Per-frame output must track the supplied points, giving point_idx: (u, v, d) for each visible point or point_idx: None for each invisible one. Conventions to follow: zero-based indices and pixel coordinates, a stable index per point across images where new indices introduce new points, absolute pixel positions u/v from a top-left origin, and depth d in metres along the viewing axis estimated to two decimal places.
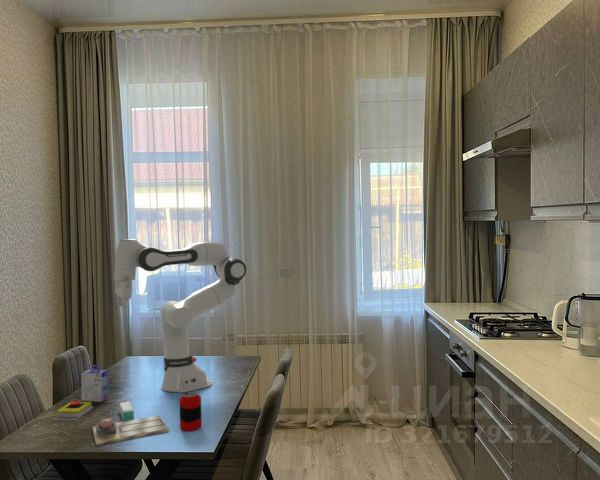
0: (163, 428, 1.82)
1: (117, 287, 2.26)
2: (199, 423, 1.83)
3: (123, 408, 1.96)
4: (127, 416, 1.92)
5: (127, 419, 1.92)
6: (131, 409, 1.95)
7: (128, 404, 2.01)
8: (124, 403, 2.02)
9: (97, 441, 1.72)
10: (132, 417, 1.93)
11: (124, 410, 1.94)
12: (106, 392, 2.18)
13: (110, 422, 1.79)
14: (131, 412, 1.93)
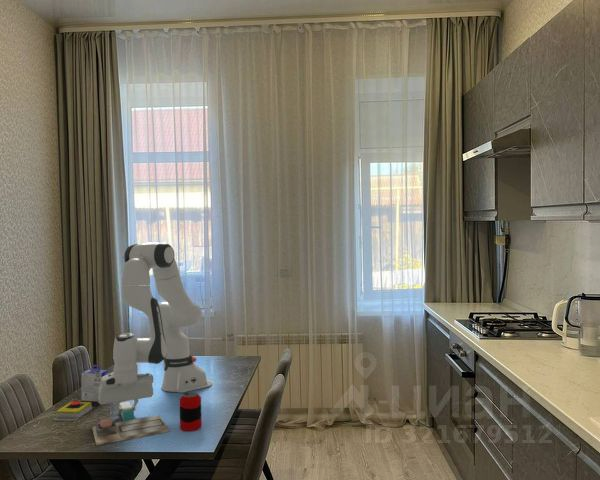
0: (163, 428, 1.82)
1: (113, 394, 1.94)
2: (199, 423, 1.83)
3: (123, 408, 1.96)
4: (127, 416, 1.92)
5: (127, 419, 1.92)
6: (131, 409, 1.95)
7: (128, 404, 2.01)
8: (124, 403, 2.02)
9: (97, 441, 1.72)
10: (132, 417, 1.93)
11: (124, 410, 1.94)
12: None
13: (110, 422, 1.79)
14: (131, 412, 1.93)
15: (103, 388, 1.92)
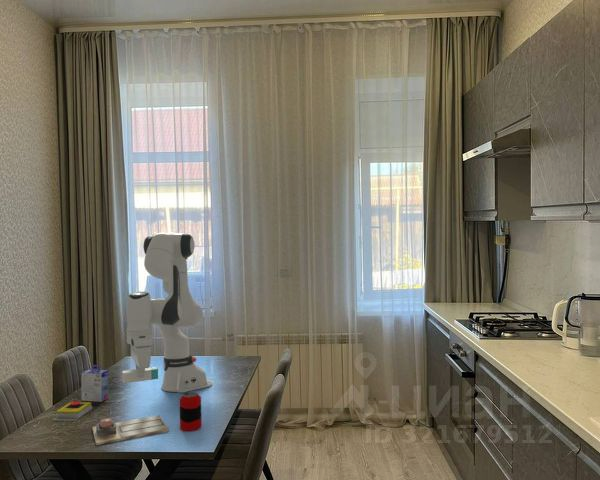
0: (163, 428, 1.82)
1: None
2: (199, 423, 1.83)
3: (145, 370, 1.84)
4: None
5: None
6: (151, 367, 1.88)
7: (131, 370, 1.84)
8: (127, 371, 1.82)
9: (97, 441, 1.72)
10: None
11: (152, 369, 1.85)
12: (106, 392, 2.18)
13: (110, 422, 1.79)
14: None
15: (150, 349, 1.78)
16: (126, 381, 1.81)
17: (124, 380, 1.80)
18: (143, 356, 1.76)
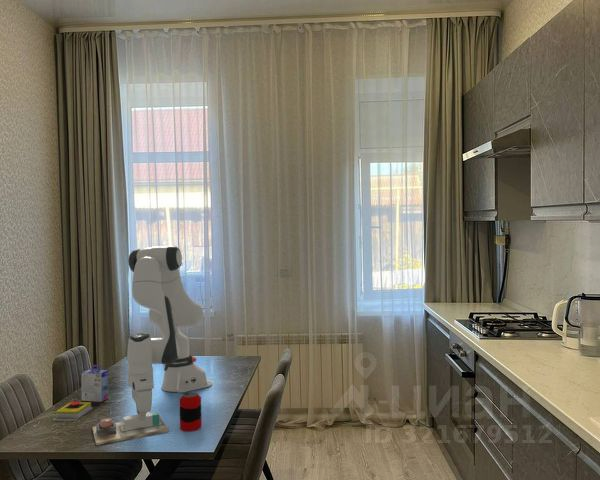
0: (163, 428, 1.82)
1: None
2: (199, 423, 1.83)
3: (146, 416, 1.84)
4: None
5: None
6: (152, 412, 1.88)
7: (132, 416, 1.85)
8: (128, 417, 1.83)
9: (97, 441, 1.72)
10: None
11: (153, 414, 1.86)
12: (106, 392, 2.18)
13: (110, 422, 1.79)
14: (157, 413, 1.88)
15: None
16: (127, 428, 1.81)
17: (125, 427, 1.81)
18: (144, 400, 1.76)
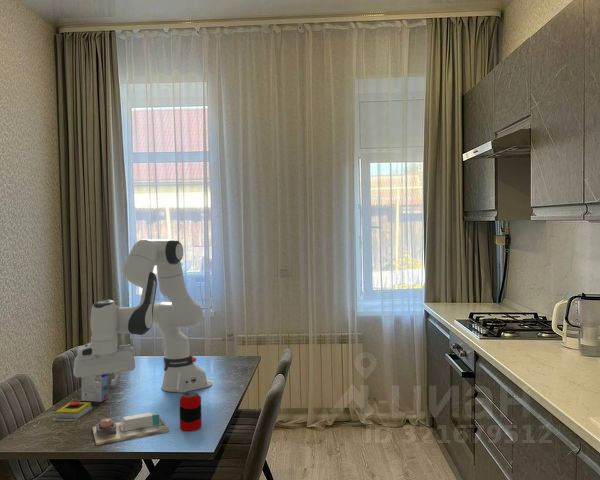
0: (163, 428, 1.82)
1: (90, 366, 1.75)
2: (199, 423, 1.83)
3: (146, 416, 1.84)
4: None
5: None
6: (152, 412, 1.88)
7: (132, 416, 1.85)
8: (128, 417, 1.83)
9: (97, 441, 1.72)
10: None
11: (153, 414, 1.86)
12: (106, 392, 2.18)
13: (110, 422, 1.79)
14: (157, 413, 1.88)
15: (79, 359, 1.73)
16: (127, 428, 1.81)
17: (125, 427, 1.81)
18: (74, 364, 1.75)
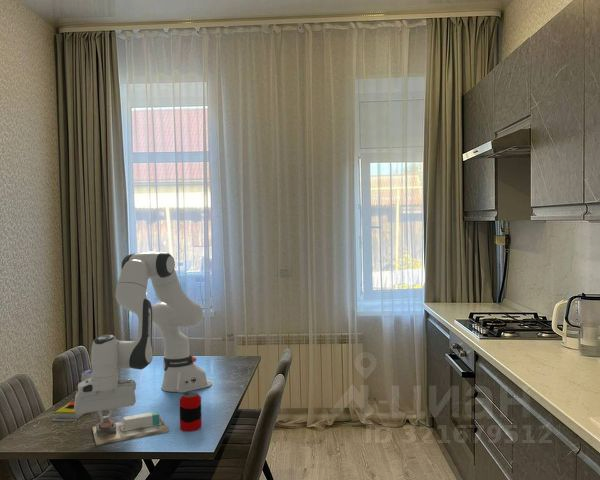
0: (163, 428, 1.82)
1: (91, 402, 1.75)
2: (199, 423, 1.83)
3: (146, 416, 1.84)
4: None
5: None
6: (152, 412, 1.88)
7: (132, 416, 1.85)
8: (128, 417, 1.83)
9: (97, 441, 1.72)
10: None
11: (153, 414, 1.86)
12: None
13: (110, 423, 1.79)
14: (157, 413, 1.88)
15: (79, 396, 1.73)
16: (127, 428, 1.81)
17: (125, 427, 1.81)
18: None
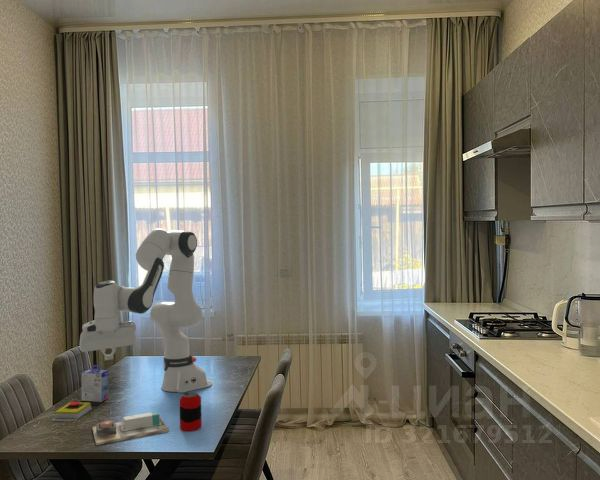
0: (163, 428, 1.82)
1: (95, 341, 1.91)
2: (199, 423, 1.83)
3: (146, 416, 1.84)
4: None
5: None
6: (152, 412, 1.88)
7: (132, 416, 1.85)
8: (128, 417, 1.83)
9: (97, 441, 1.72)
10: None
11: (153, 414, 1.86)
12: (106, 392, 2.18)
13: (110, 424, 1.79)
14: (157, 413, 1.88)
15: (84, 335, 1.89)
16: (127, 428, 1.81)
17: (125, 427, 1.81)
18: (80, 339, 1.91)
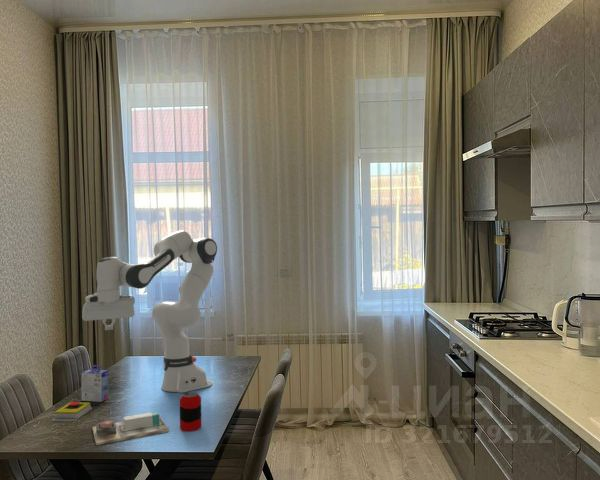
0: (163, 428, 1.82)
1: (96, 311, 2.07)
2: (199, 423, 1.83)
3: (146, 416, 1.84)
4: None
5: None
6: (152, 412, 1.88)
7: (132, 416, 1.85)
8: (128, 417, 1.83)
9: (97, 441, 1.72)
10: None
11: (153, 414, 1.86)
12: (106, 392, 2.18)
13: (110, 424, 1.79)
14: (157, 413, 1.88)
15: (87, 305, 2.05)
16: (127, 428, 1.81)
17: (125, 427, 1.81)
18: None
